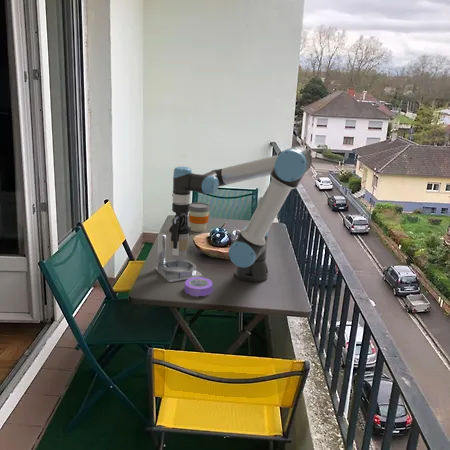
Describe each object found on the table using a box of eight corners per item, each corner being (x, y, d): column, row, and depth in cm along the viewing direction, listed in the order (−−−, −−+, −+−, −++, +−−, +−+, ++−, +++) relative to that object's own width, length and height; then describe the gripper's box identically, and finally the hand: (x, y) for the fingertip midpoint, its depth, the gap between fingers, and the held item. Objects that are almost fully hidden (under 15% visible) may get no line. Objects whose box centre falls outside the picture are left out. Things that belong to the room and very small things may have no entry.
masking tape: (184, 296, 187) (184, 288, 185) (184, 284, 198) (185, 276, 197) (212, 297, 188) (213, 289, 186) (211, 285, 199) (212, 277, 198)
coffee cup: (183, 263, 201) (185, 231, 197) (164, 259, 204) (165, 227, 200) (192, 256, 210) (193, 225, 205) (173, 253, 213) (174, 222, 208)
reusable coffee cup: (186, 231, 267) (187, 206, 262) (188, 225, 279) (189, 201, 274) (207, 233, 267) (209, 208, 262) (209, 227, 279) (210, 203, 274)
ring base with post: (202, 276, 206) (204, 241, 201) (169, 282, 198) (170, 245, 193) (186, 264, 219) (188, 230, 214) (155, 269, 211) (156, 234, 207)
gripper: (181, 196, 210) (179, 243, 217) (163, 207, 190) (162, 258, 197) (196, 198, 208) (194, 245, 215) (180, 209, 189) (178, 260, 195)
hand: (179, 251), depth 206 cm, fingers closed on coffee cup, 8 cm apart
